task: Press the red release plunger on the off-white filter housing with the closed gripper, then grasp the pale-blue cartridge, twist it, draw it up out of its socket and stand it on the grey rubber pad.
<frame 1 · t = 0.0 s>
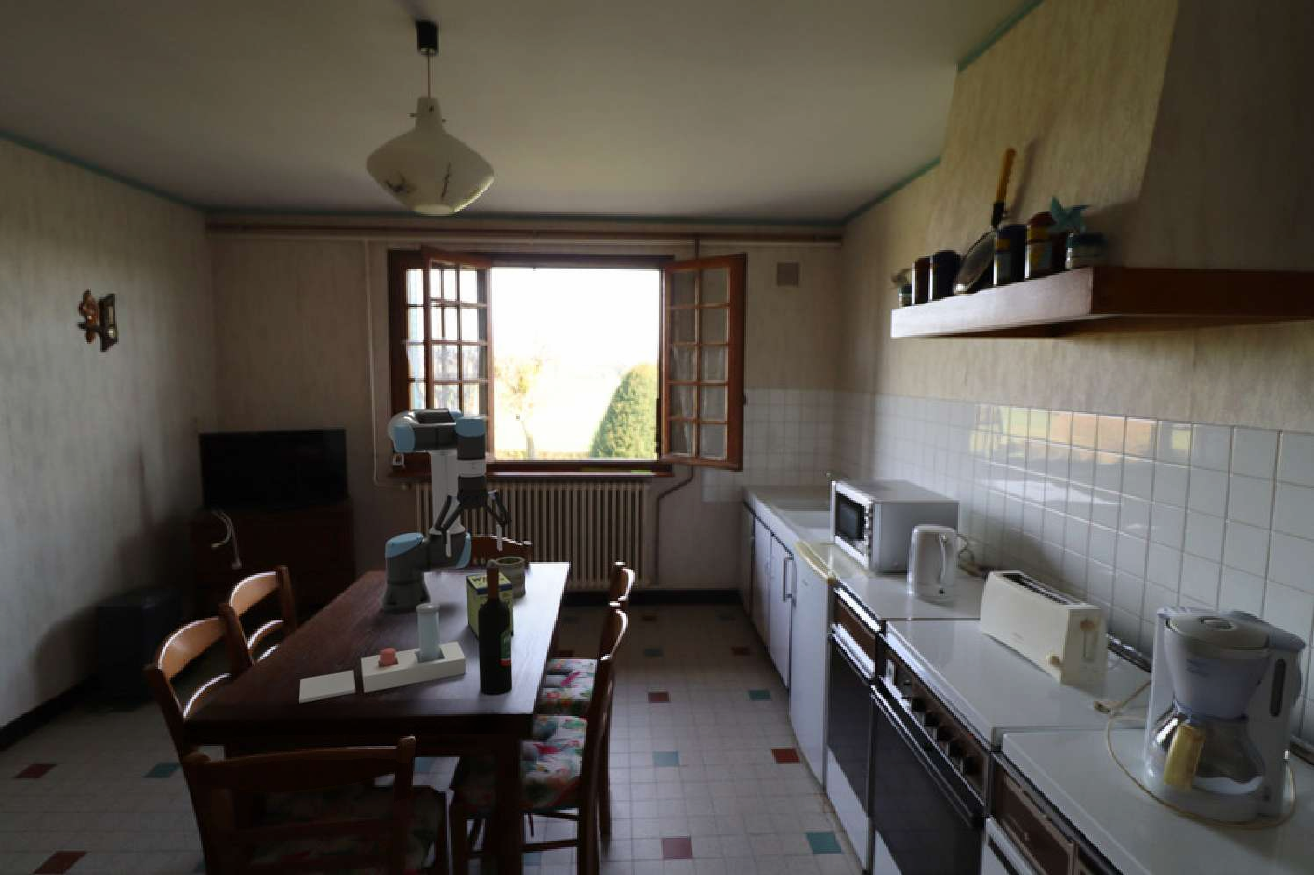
hand: (474, 552, 187), 28 cm above the table, fingers open, 13 cm apart
housing: (413, 673, 177), on the table
plunger: (388, 659, 174), point 5 cm above the table, slide at 0.0 cm
cartridge: (430, 670, 179), resting in housing
wine bottle: (496, 689, 168), on the table
pad: (327, 687, 169), on the table
protein box: (490, 630, 206), on the table
mug: (504, 594, 240), on the table
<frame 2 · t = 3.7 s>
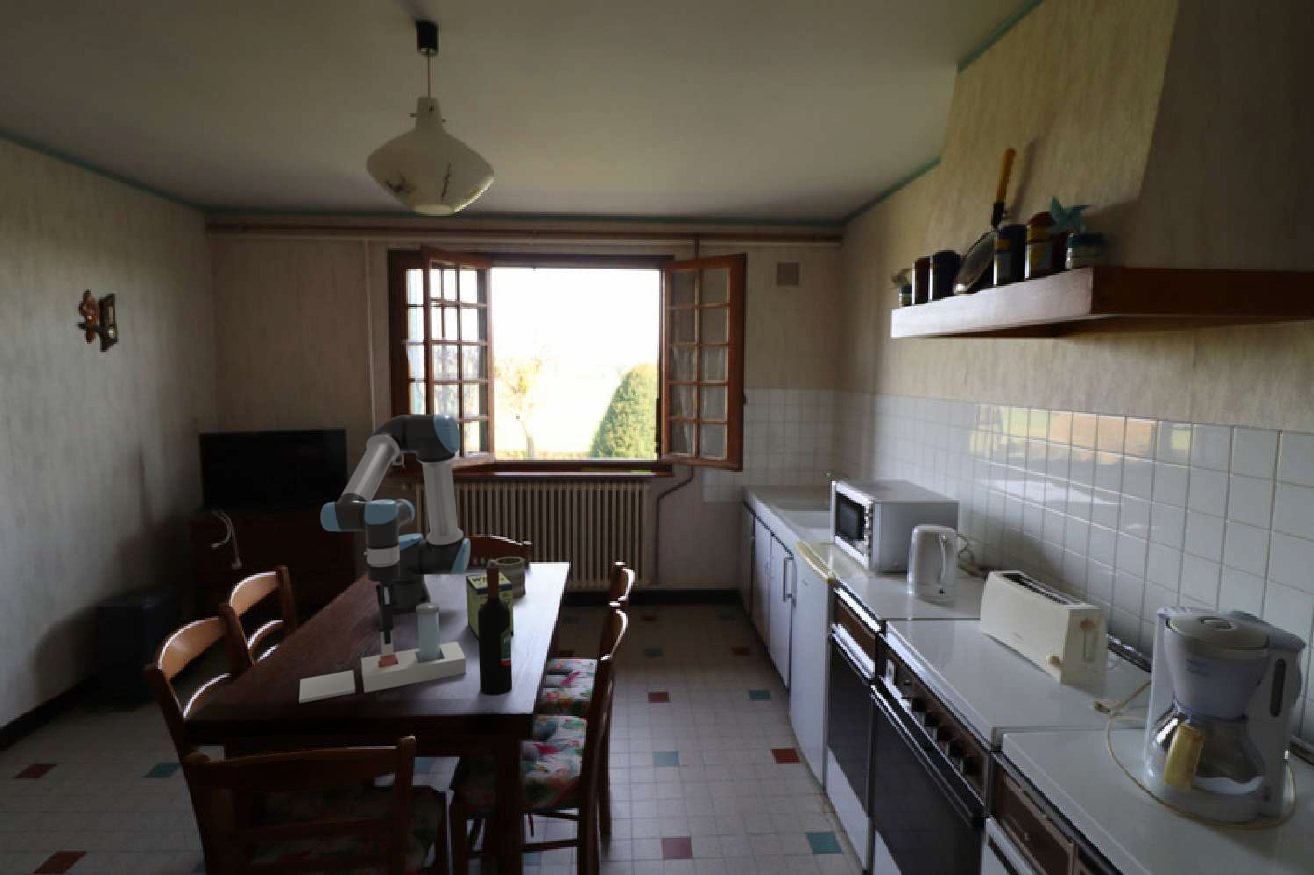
hand: (387, 654, 174), 6 cm above the table, fingers closed
plunger: (388, 664, 174), point 4 cm above the table, slide at 1.2 cm, touching gripper
everything else where it was.
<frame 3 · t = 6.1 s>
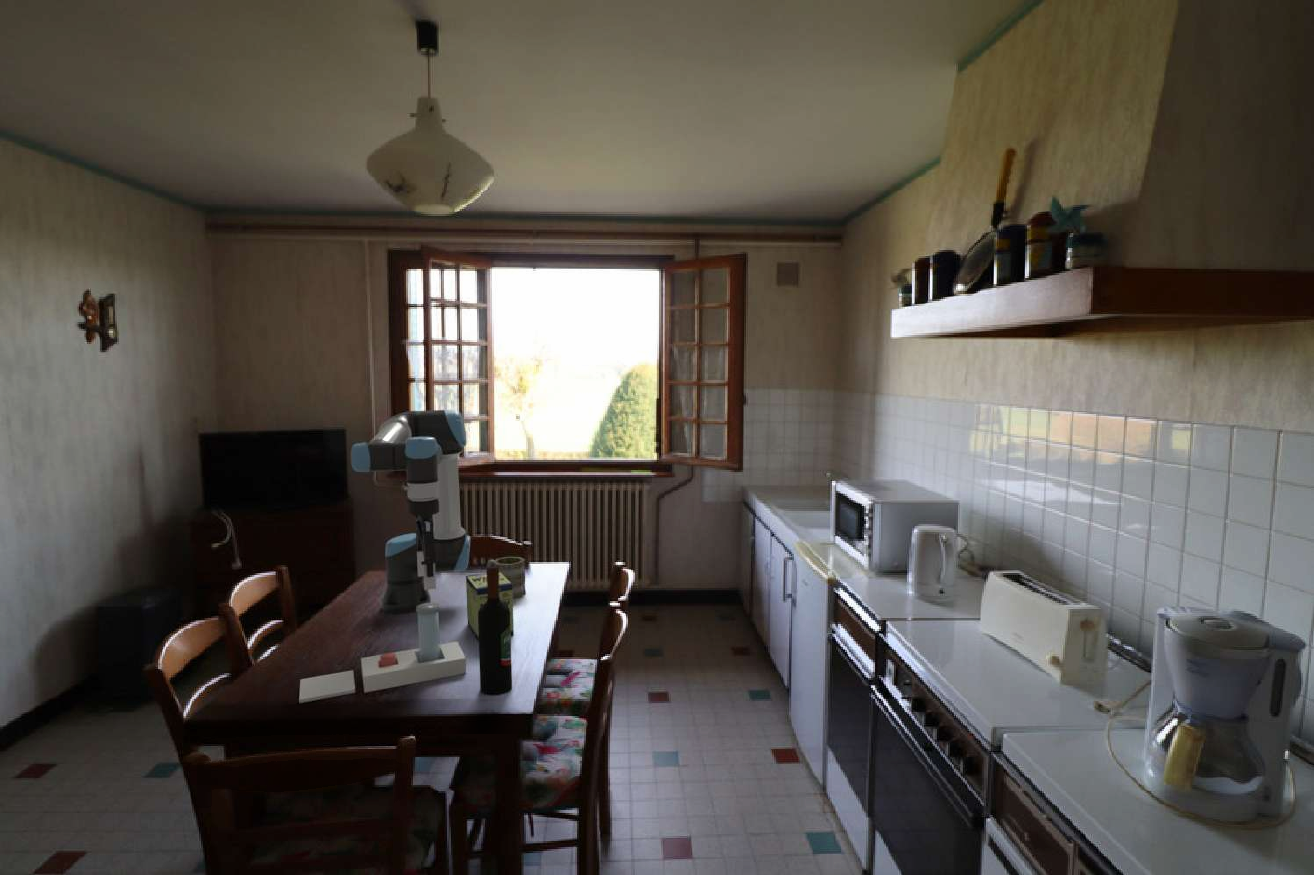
hand: (426, 582, 177), 23 cm above the table, fingers open, 12 cm apart
plunger: (388, 664, 174), point 3 cm above the table, slide at 1.3 cm
everything else where it was.
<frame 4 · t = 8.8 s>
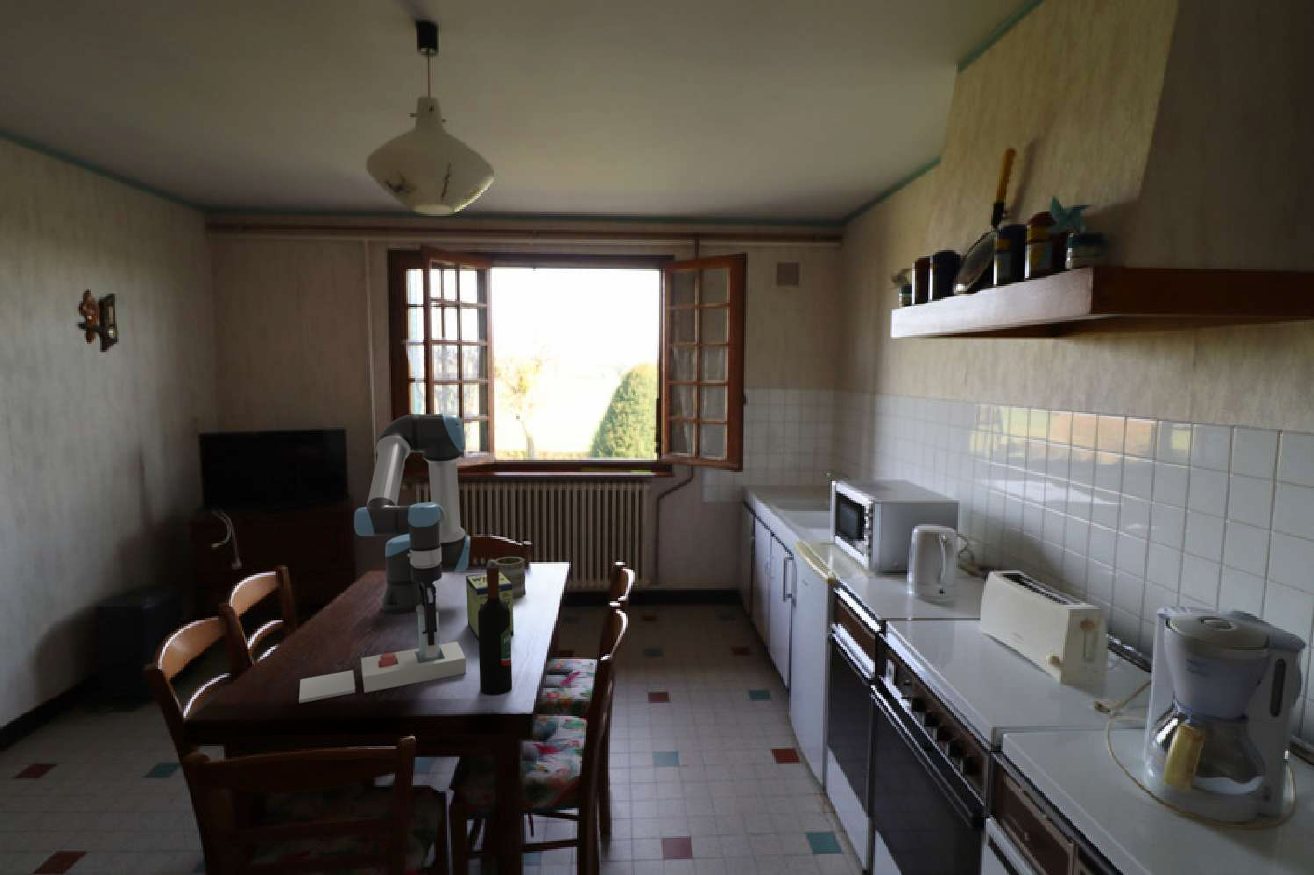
hand: (429, 652, 178), 5 cm above the table, fingers closed on cartridge, 5 cm apart
cartridge: (430, 670, 179), resting in housing, touching gripper
everything else where it was.
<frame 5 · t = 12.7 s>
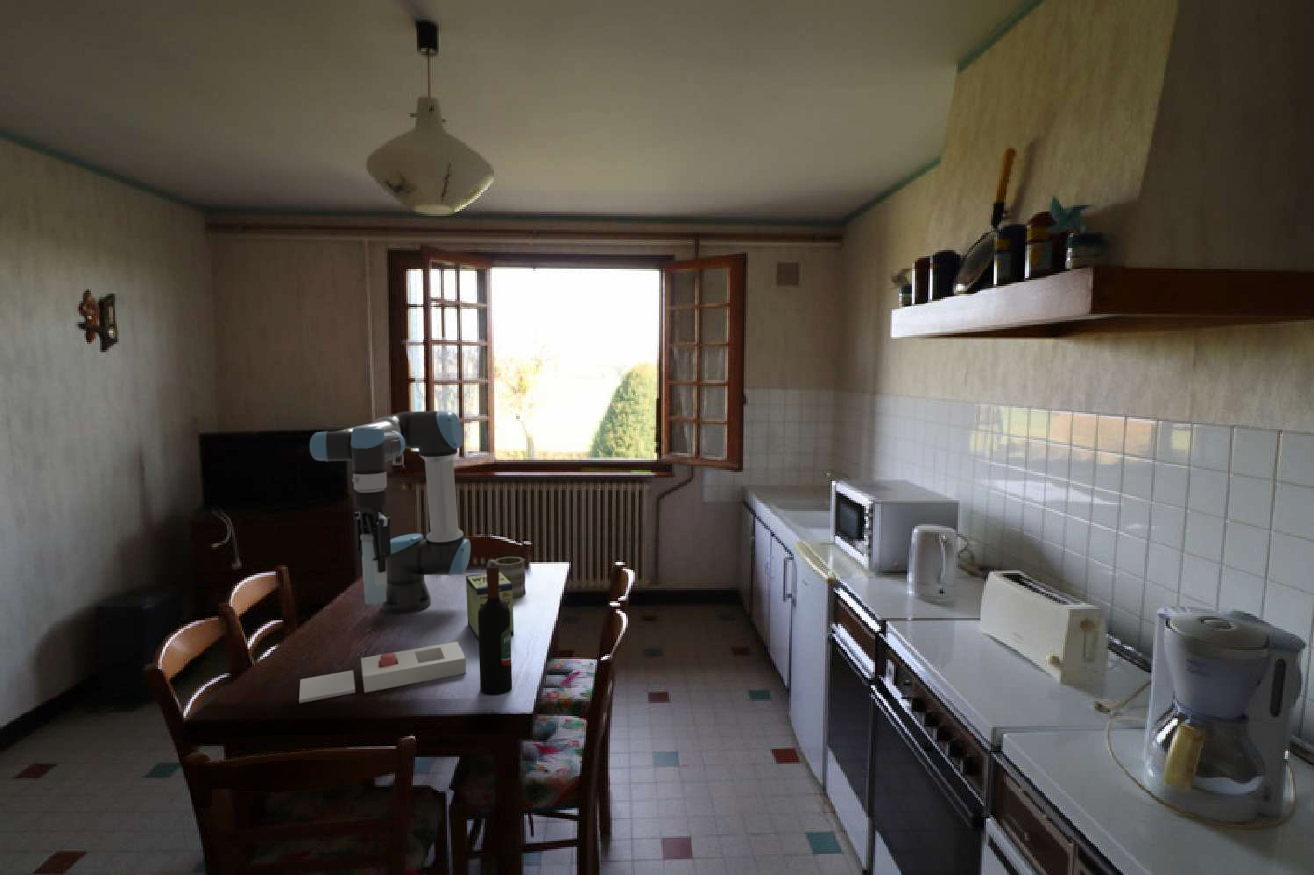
hand: (374, 582, 172), 25 cm above the table, fingers closed on cartridge, 5 cm apart
cartridge: (375, 601, 172), point 20 cm above the table, touching gripper
everything else where it was.
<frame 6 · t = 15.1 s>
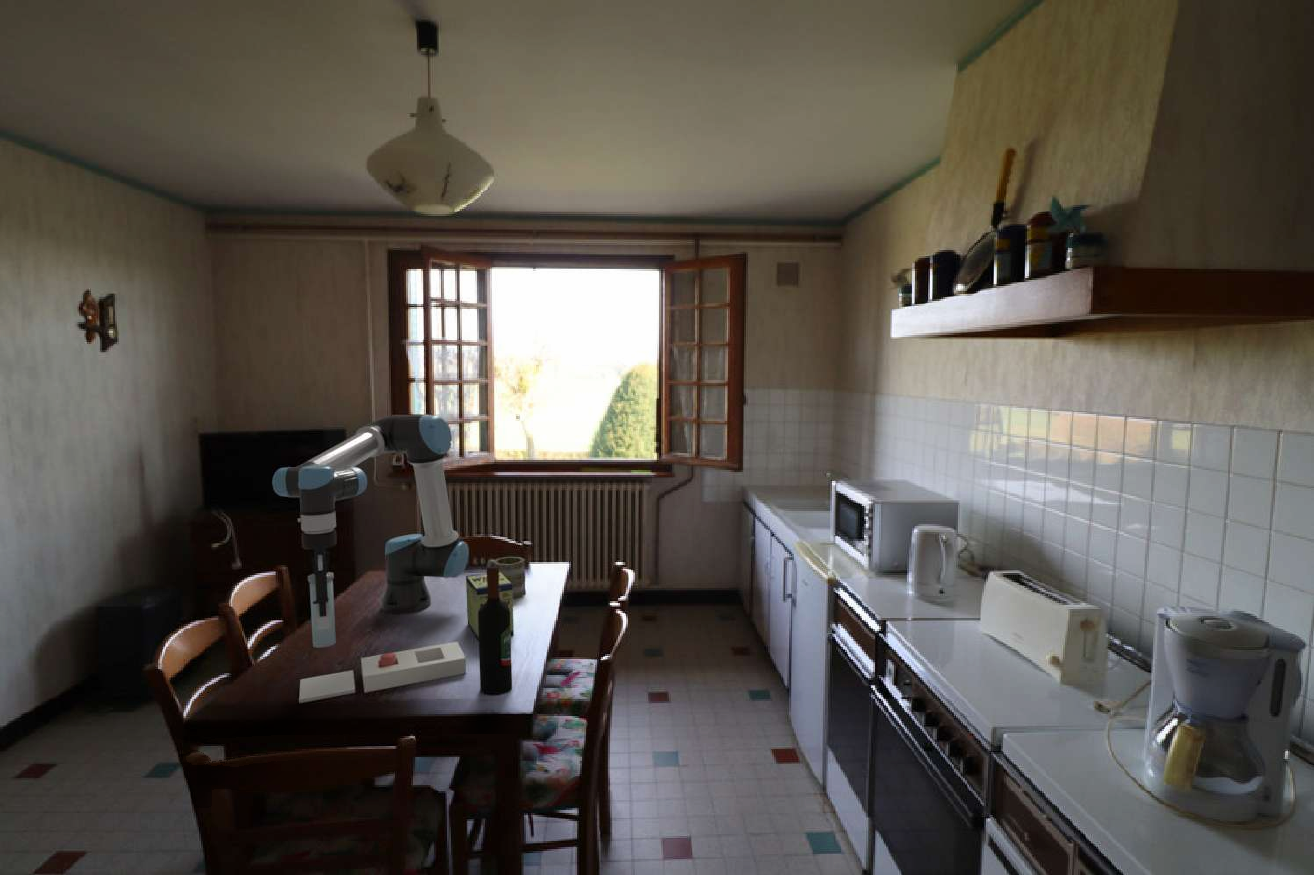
hand: (323, 624, 168), 16 cm above the table, fingers closed on cartridge, 5 cm apart
cartridge: (324, 643, 168), point 11 cm above the table, touching gripper
everything else where it was.
when the fingers open (7 cm above the table, at t = 17.0 s): cartridge drops 1 cm, resting on pad.
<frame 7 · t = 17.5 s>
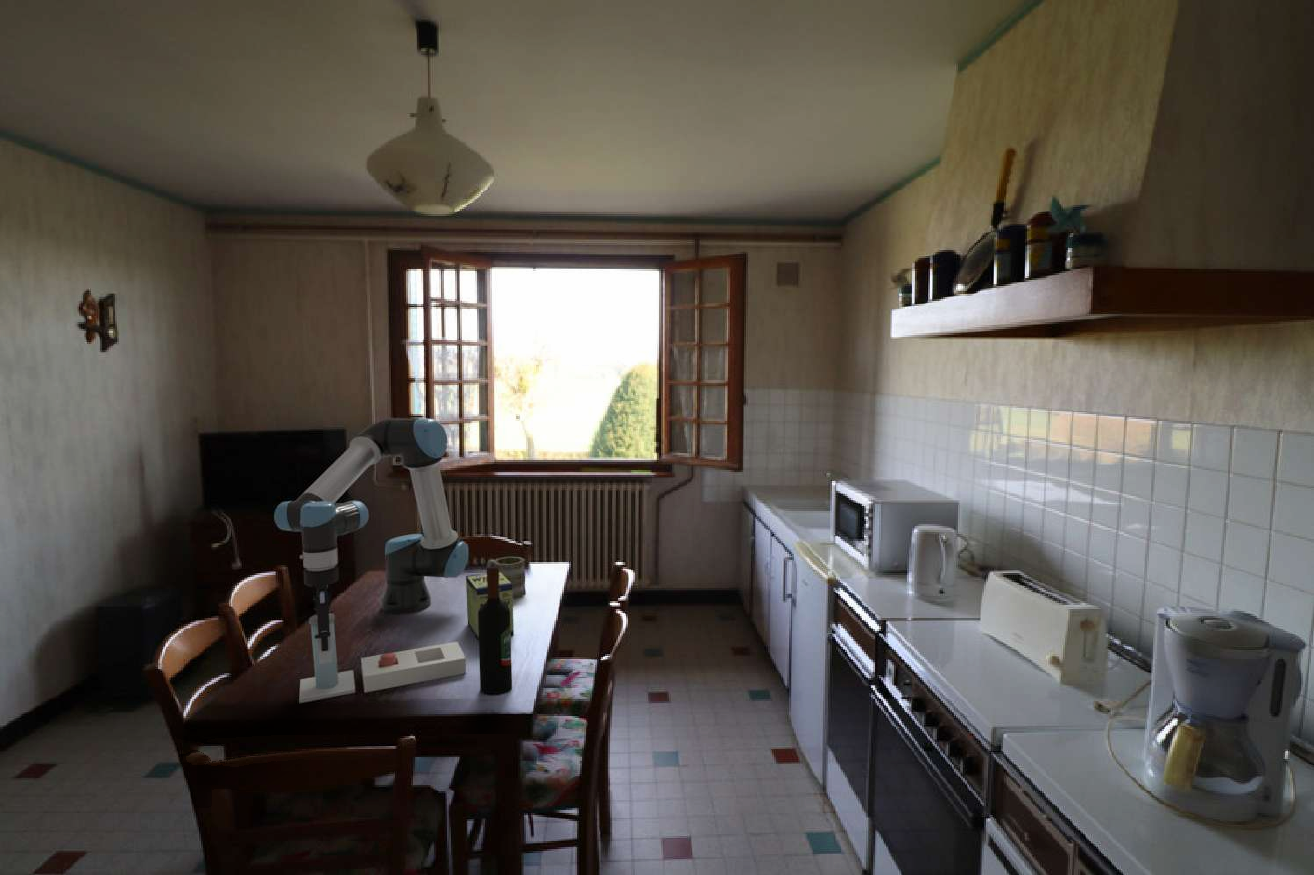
hand: (325, 653, 169), 9 cm above the table, fingers open, 12 cm apart
cartridge: (327, 684, 169), point 1 cm above the table, touching pad
everything else where it was.
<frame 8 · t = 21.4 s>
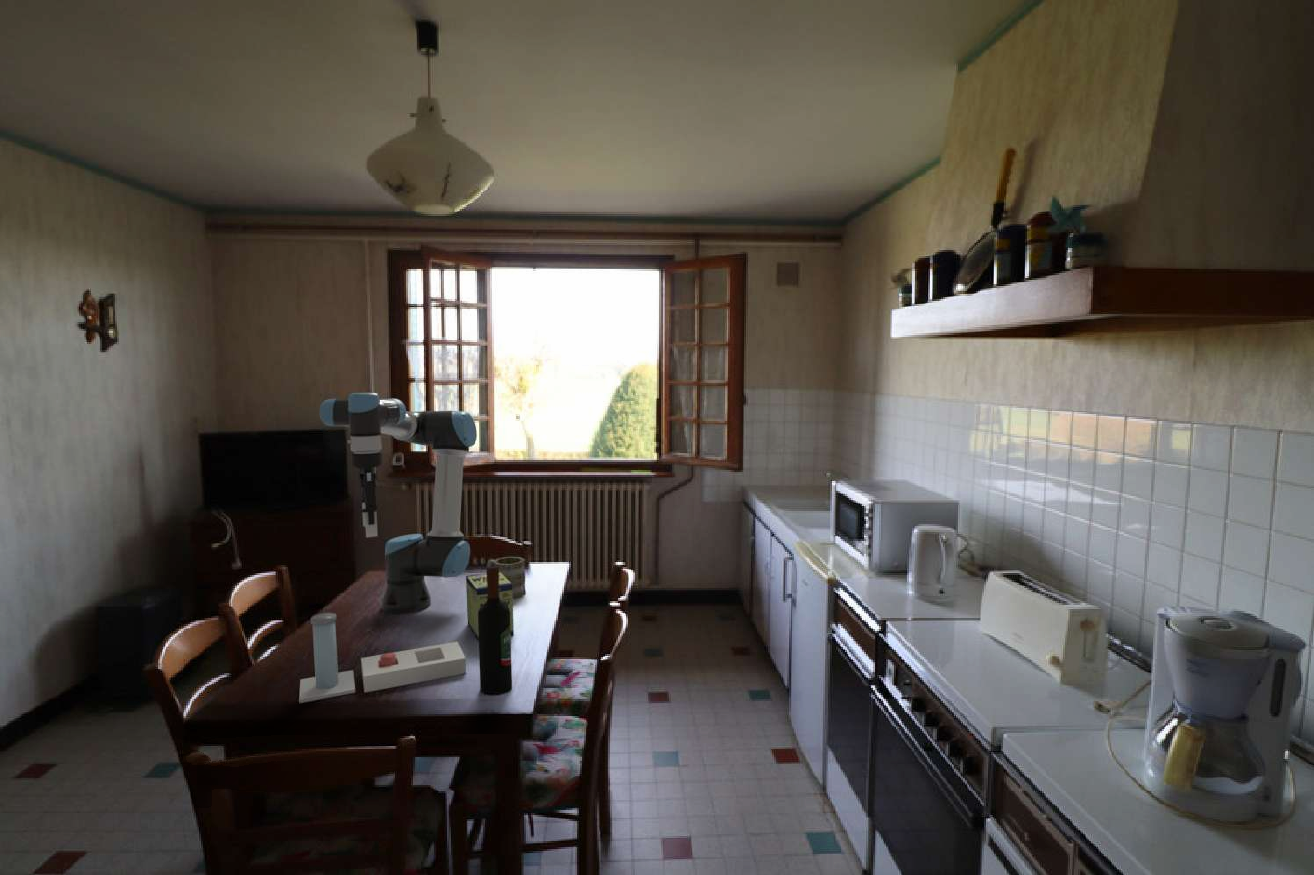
hand: (370, 531, 184), 35 cm above the table, fingers open, 13 cm apart
nothing on the table moved.
at the end: cartridge inside the target area on the pad (0.0 cm from its centre), point 0.8 cm above the pad's base; cartridge tilted 0°; plunger slide at 1.3 cm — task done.
